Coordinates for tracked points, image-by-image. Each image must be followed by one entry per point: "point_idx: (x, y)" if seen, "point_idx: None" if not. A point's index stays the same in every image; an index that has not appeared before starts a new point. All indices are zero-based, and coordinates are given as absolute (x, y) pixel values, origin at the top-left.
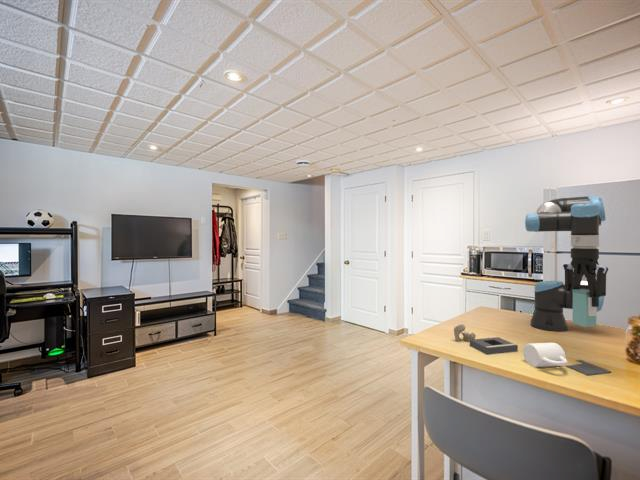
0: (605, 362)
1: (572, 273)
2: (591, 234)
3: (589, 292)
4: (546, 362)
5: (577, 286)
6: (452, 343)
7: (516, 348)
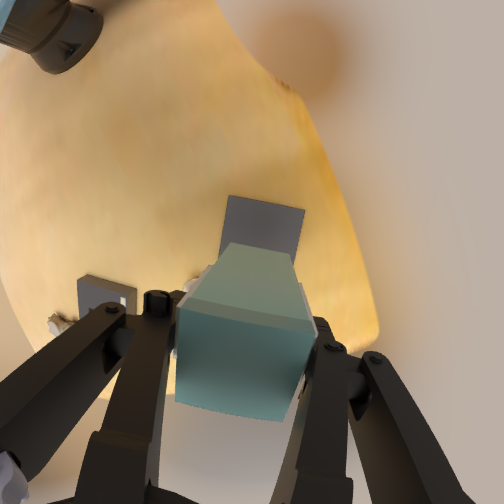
0: (262, 145)
1: (31, 413)
2: None
3: (291, 393)
4: None
5: (165, 373)
6: None
7: (131, 295)
